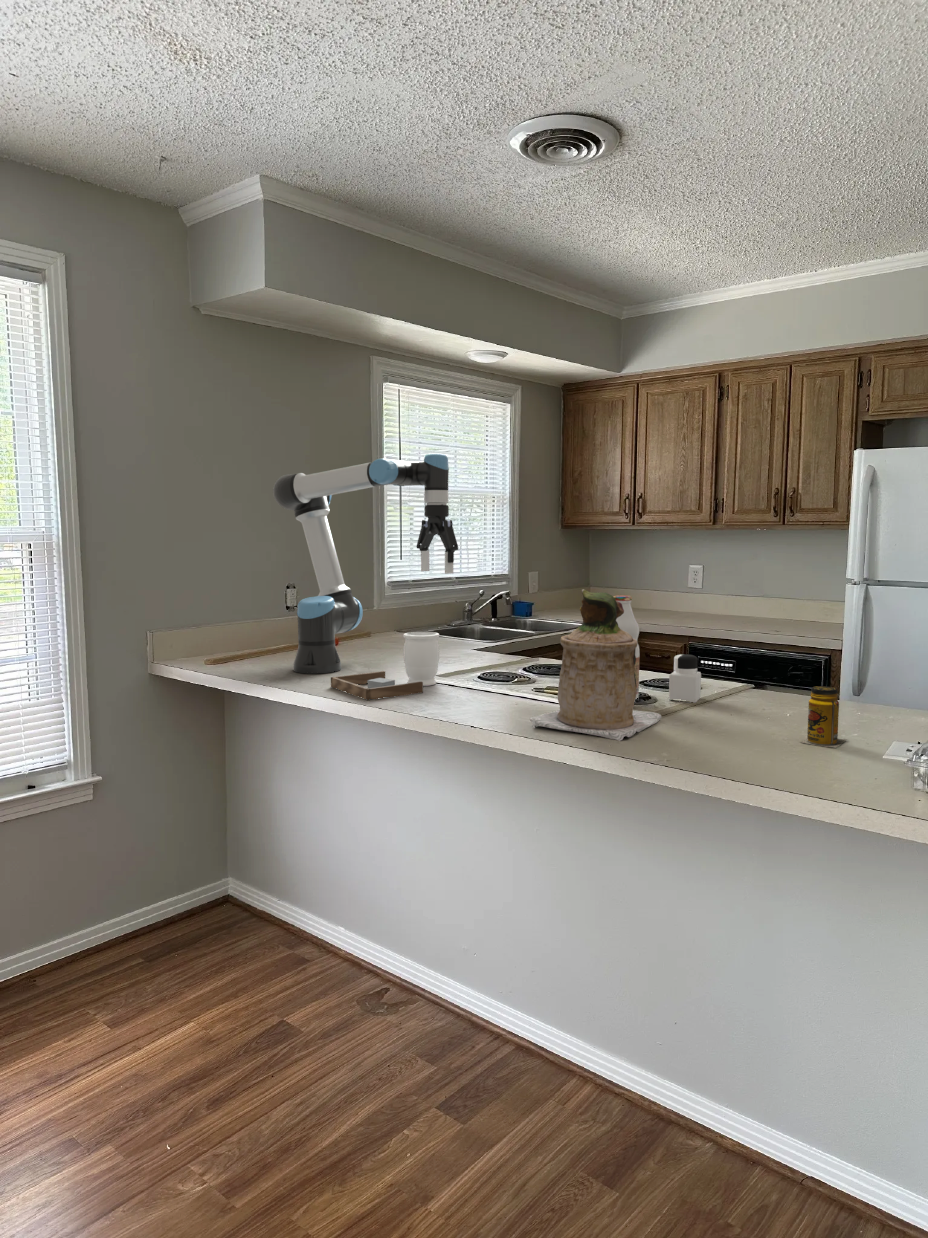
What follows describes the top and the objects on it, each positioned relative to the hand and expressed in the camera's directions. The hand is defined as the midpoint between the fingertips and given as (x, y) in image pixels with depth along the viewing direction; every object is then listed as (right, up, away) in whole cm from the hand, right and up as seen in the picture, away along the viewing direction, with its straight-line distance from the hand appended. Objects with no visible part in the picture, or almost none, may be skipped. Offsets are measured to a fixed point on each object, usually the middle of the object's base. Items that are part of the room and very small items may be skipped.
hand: (436, 572), depth 269 cm
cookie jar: (+40, -40, -67) cm, 87 cm away
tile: (-15, -35, -25) cm, 46 cm away
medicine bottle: (+68, -36, -40) cm, 87 cm away
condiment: (+87, -42, -84) cm, 128 cm away
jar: (-4, -34, -17) cm, 38 cm away
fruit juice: (+50, -37, -41) cm, 75 cm away
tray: (-17, -35, -26) cm, 47 cm away
